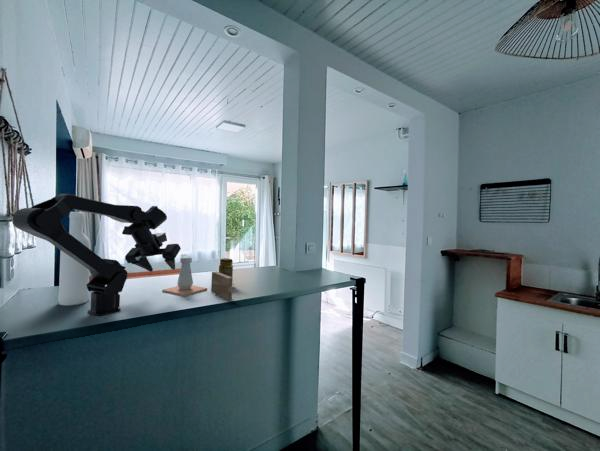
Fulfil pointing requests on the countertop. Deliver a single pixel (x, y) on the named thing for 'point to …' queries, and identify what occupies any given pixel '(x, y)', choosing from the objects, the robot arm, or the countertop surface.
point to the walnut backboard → (222, 285)
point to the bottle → (74, 268)
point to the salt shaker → (185, 274)
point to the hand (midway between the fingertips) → (163, 269)
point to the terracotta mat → (184, 292)
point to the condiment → (226, 267)
